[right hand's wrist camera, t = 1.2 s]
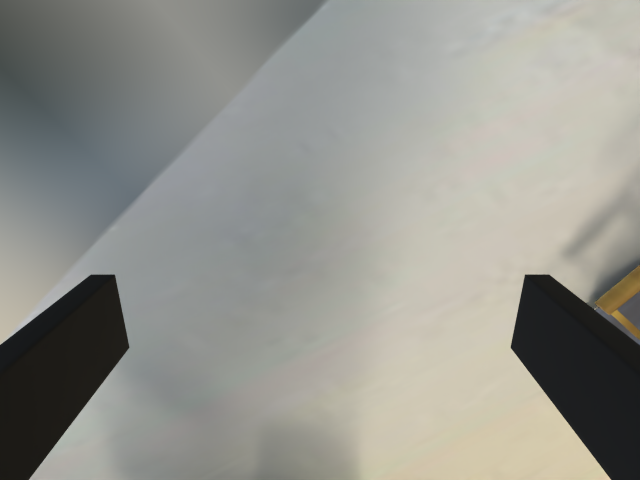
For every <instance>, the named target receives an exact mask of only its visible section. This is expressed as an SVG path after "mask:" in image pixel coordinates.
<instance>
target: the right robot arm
mask: <svg viewBox="0 0 640 480" xmlns="http://www.w3.org/2000/svg"><path fill="white" fill-rule="evenodd" d="M128 349H129V343H128V338H127V333H126V328H125V323H124V318H123V313H122V308H121V303H120V298H119V293H118V288H117V283H116V278H115V275H90V276H89V277H87V278H86V279H85V280H83V281H82V282H81V283H80V284H78V285H77V286H76V287H74V288H73V289H72V290H71V291H69V292H68V293H67V294H65V295H64V296H63V297H62V298H60V299H59V300H58V301H56V302H55V303H54V304H53V305H51V306H50V307H49V308H47V309H46V310H45V311H44V312H42V313H41V314H40V315H38V316H37V317H36V318H34V319H33V320H32V321H31V322H29V323H28V324H27V325H25V326H24V327H23V328H22V329H20V330H19V331H18V332H16V333H15V334H14V335H13V336H11V337H10V338H9V339H7V340H6V341H5V342H4V343H2V344H1V345H0V480H29V479H30V477H31V476H32V475H33V473H34V472H35V471H36V469H37V468H38V467H39V466H40V464H41V463H42V462H43V460H44V459H45V458H46V456H47V455H48V454H49V452H50V451H51V450H52V448H53V447H54V446H55V444H56V443H57V442H58V441H59V439H60V438H61V437H62V435H63V434H64V433H65V431H66V430H67V429H68V427H69V426H70V425H71V423H72V422H73V421H74V420H75V418H76V417H77V416H78V414H79V413H80V412H81V410H82V409H83V408H84V406H85V405H86V404H87V402H88V401H89V400H90V398H91V397H92V396H93V395H94V393H95V392H96V391H97V389H98V388H99V387H100V385H101V384H102V383H103V381H104V380H105V379H106V377H107V376H108V375H109V374H110V372H111V371H112V370H113V368H114V367H115V366H116V364H117V363H118V362H119V360H120V359H121V358H122V356H123V355H124V354H125V353H126V351H127V350H128ZM511 349H512V350H513V351H514V353H515V354H516V355H517V356H518V358H519V359H520V360H521V362H522V363H523V364H524V366H525V367H526V368H527V370H528V371H529V372H530V374H531V375H532V376H533V377H534V379H535V380H536V381H537V383H538V384H539V385H540V387H541V388H542V389H543V391H544V392H545V393H546V395H547V396H548V397H549V398H550V400H551V401H552V402H553V404H554V405H555V406H556V408H557V409H558V410H559V412H560V413H561V414H562V416H563V417H564V418H565V420H566V421H567V422H568V423H569V425H570V426H571V427H572V429H573V430H574V431H575V433H576V434H577V435H578V437H579V438H580V439H581V441H582V442H583V443H584V444H585V446H586V447H587V448H588V450H589V451H590V452H591V454H592V455H593V456H594V458H595V459H596V460H597V462H598V463H599V464H600V466H601V467H602V468H603V469H604V471H605V472H606V473H607V475H608V476H609V477H610V479H611V480H640V345H639V344H638V343H636V342H635V341H634V340H633V339H631V338H630V337H629V336H627V335H626V334H625V333H624V332H622V331H621V330H620V329H618V328H617V327H616V326H615V325H613V324H612V323H611V322H609V321H608V320H607V319H606V318H604V317H603V316H602V315H600V314H599V313H598V312H596V311H595V310H594V309H593V308H591V307H590V306H589V305H587V304H586V303H585V302H584V301H582V300H581V299H580V298H578V297H577V296H576V295H575V294H573V293H572V292H571V291H569V290H568V289H567V288H566V287H564V286H563V285H562V284H560V283H559V282H558V281H557V280H555V279H554V278H553V277H551V276H550V275H525V278H524V283H523V288H522V293H521V298H520V303H519V308H518V313H517V318H516V323H515V328H514V333H513V338H512V343H511Z"/></svg>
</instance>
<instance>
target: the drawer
mask: <svg viewBox="0 0 640 480" xmlns="http://www.w3.org/2000/svg"><path fill="white" fill-rule="evenodd" d="M595 304H596V305H597V306H598V308H597V309H596V310H595V311H596V312H598V313H599V314H600V315H602V316H603V317H604V318H606V319H607V320H608V321H609V322H611V323H612V324H613V325H615V326H616V327H617V328H618V329H620V330H621V331H622V332H624V333H625V334H626V335H627V336H629V337H630V338H631V339H633V340H634V341H635V342H636V343H638V344H639V345H640V265H639V266H638V267H637V268H635V269H634V270H633V271H632V272H631V273H629V274H628V275H627V276H626V277H625V278H623V279H622V280H621V281H620V282H619V283H617V284H616V285H615V286H614V287H613V288H611V289H610V290H609V291H608V292H607V293H605V294H604V295H603V296H602V297H600V298H599V299H598V300H597V301H596V302H595Z"/></svg>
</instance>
